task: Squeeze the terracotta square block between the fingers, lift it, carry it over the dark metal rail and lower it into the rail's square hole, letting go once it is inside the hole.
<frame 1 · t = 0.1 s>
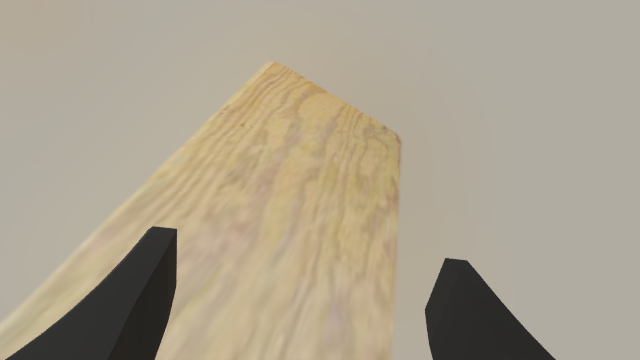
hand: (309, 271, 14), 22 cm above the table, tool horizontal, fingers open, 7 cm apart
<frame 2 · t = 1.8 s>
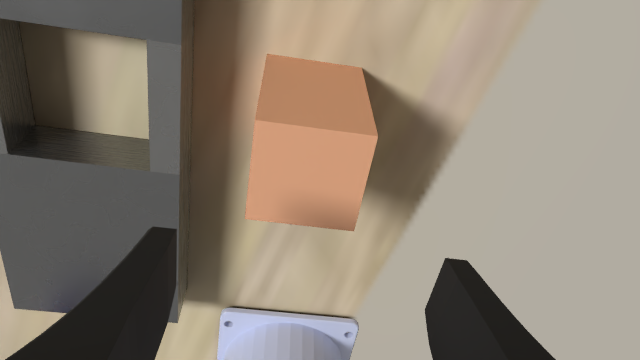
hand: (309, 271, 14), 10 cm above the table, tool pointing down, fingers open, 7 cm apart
square block: (307, 104, 22), on the table
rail: (95, 75, 21), on the table
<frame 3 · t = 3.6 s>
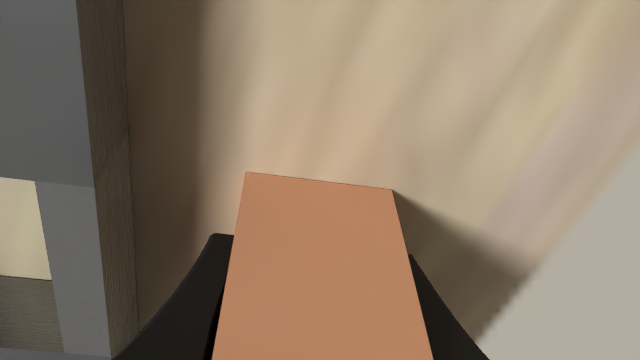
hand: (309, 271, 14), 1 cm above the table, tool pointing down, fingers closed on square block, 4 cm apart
square block: (308, 237, 15), on the table, touching gripper
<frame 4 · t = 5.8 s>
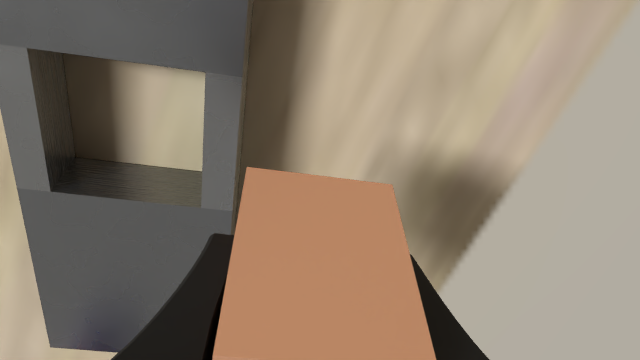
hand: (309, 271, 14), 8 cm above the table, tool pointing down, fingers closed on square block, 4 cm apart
square block: (309, 232, 15), point 7 cm above the table, touching gripper
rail: (141, 105, 20), on the table
when the fingers open (3 cm above the table, at t = 8.2 s): square block drops 2 cm, resting in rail.
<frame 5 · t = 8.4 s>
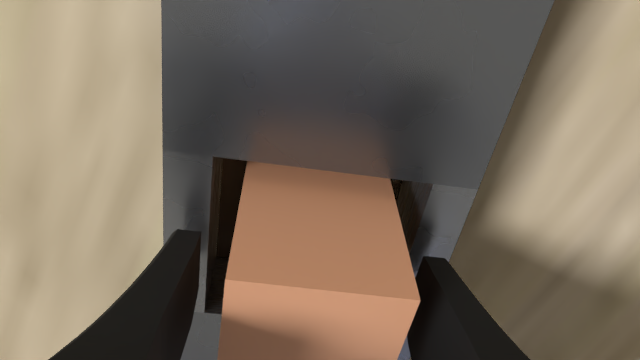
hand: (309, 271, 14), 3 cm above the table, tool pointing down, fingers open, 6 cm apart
square block: (308, 197, 16), resting in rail
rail: (308, 201, 16), on the table
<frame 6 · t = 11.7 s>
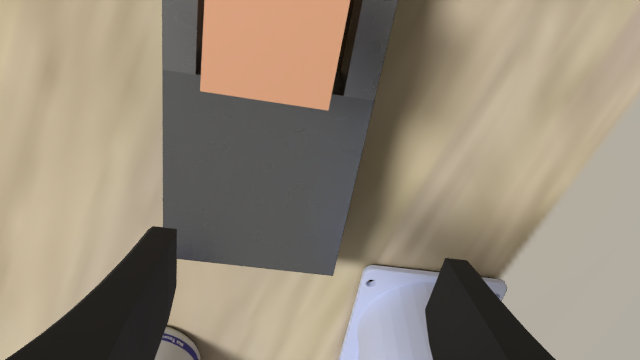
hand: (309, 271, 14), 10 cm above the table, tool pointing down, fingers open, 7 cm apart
energy drink: (158, 348, 31), on the table
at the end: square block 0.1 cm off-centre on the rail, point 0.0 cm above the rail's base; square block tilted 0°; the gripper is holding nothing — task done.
